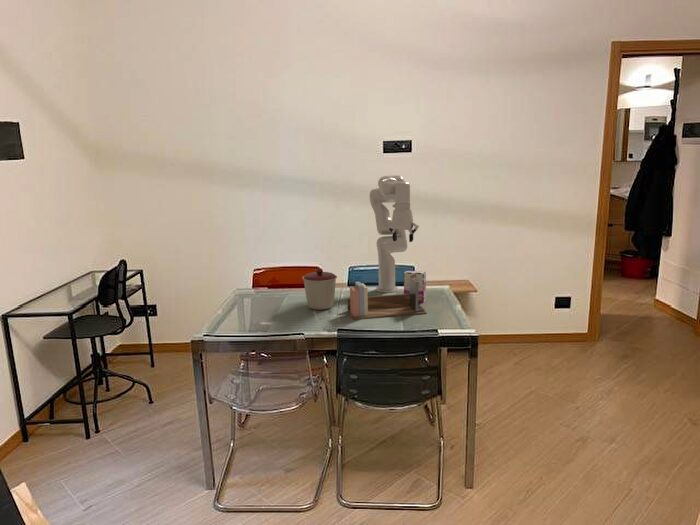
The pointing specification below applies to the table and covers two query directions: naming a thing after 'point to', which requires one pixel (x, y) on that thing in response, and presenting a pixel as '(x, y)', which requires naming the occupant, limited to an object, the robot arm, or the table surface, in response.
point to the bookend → (414, 296)
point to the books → (359, 299)
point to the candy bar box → (421, 280)
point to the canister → (320, 289)
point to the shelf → (387, 306)
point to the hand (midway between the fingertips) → (402, 241)
